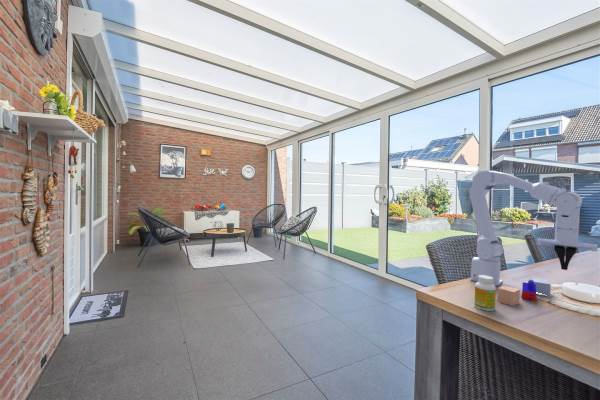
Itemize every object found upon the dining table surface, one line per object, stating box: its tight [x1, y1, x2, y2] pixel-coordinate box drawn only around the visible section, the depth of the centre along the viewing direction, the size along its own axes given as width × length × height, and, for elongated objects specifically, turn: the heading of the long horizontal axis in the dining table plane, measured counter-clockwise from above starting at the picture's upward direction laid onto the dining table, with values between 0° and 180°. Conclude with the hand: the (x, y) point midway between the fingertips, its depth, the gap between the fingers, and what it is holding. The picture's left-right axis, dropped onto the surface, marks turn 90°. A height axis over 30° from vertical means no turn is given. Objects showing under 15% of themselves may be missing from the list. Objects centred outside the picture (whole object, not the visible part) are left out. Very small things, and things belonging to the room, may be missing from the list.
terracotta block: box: [496, 285, 521, 307], centre depth 93 cm, size 4×4×4 cm
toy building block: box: [521, 279, 537, 302], centre depth 96 cm, size 4×4×8 cm
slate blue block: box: [531, 277, 552, 297], centre depth 101 cm, size 4×4×4 cm
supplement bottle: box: [473, 275, 497, 312], centre depth 88 cm, size 5×5×10 cm
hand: (564, 269), depth 95 cm, fingers closed
